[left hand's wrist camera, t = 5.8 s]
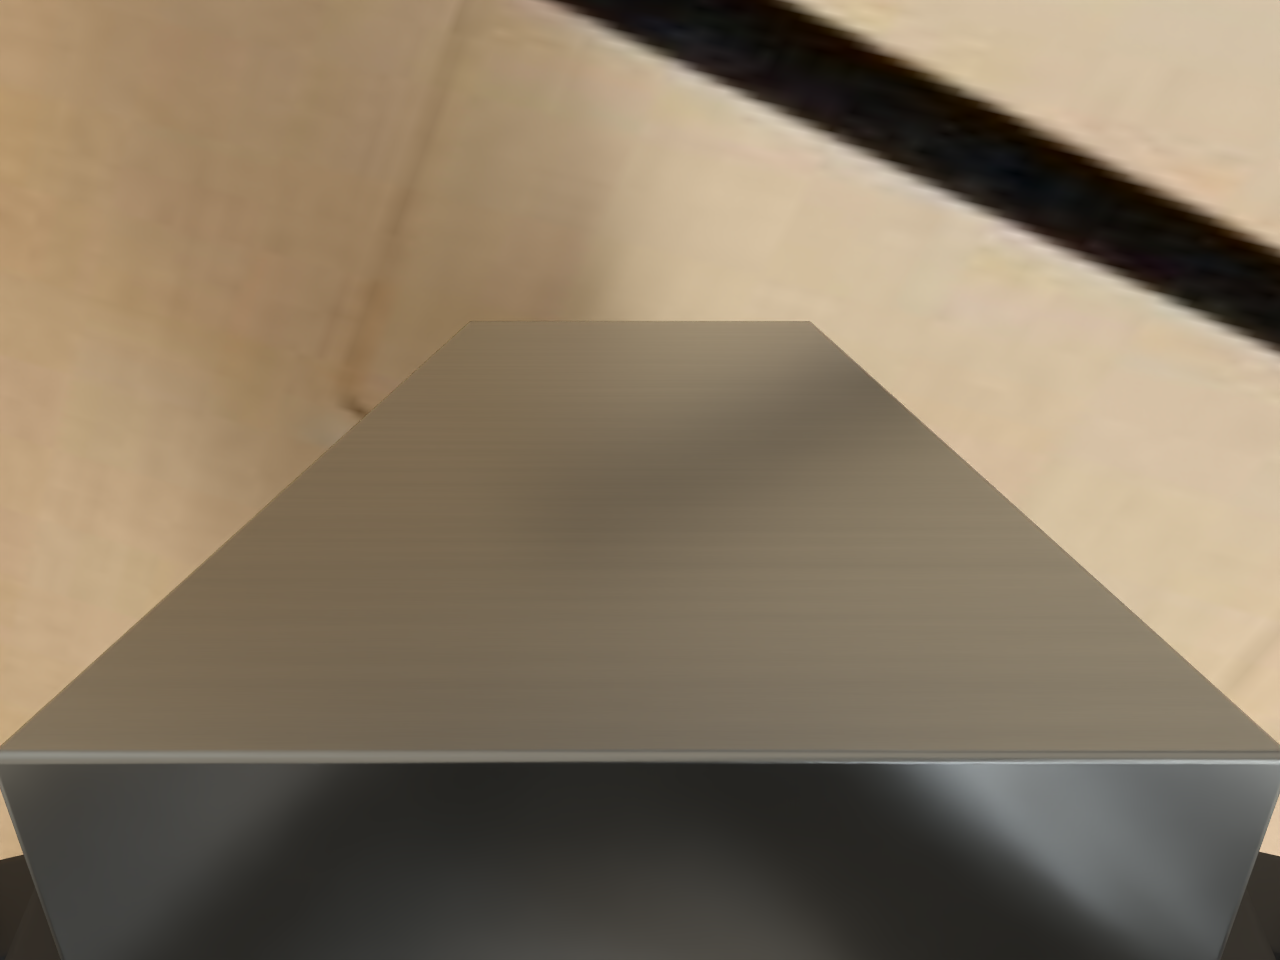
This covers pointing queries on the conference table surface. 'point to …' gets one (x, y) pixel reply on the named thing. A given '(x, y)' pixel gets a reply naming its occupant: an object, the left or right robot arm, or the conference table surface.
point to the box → (640, 694)
